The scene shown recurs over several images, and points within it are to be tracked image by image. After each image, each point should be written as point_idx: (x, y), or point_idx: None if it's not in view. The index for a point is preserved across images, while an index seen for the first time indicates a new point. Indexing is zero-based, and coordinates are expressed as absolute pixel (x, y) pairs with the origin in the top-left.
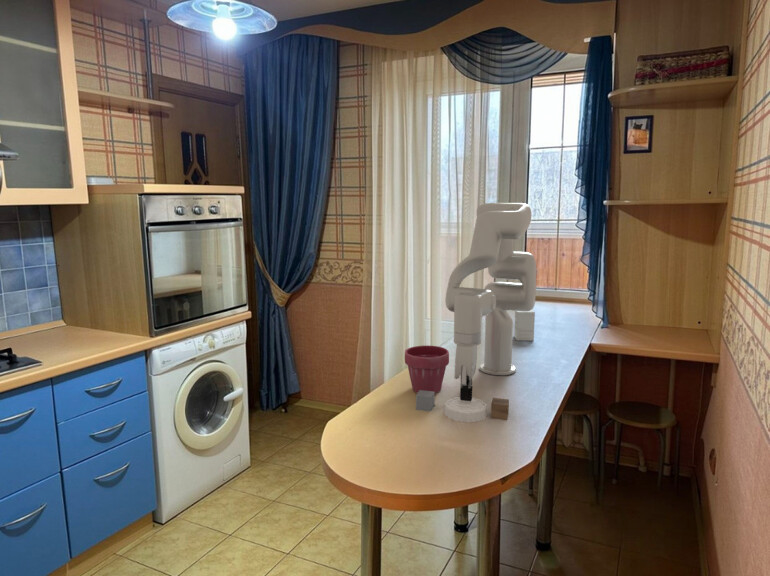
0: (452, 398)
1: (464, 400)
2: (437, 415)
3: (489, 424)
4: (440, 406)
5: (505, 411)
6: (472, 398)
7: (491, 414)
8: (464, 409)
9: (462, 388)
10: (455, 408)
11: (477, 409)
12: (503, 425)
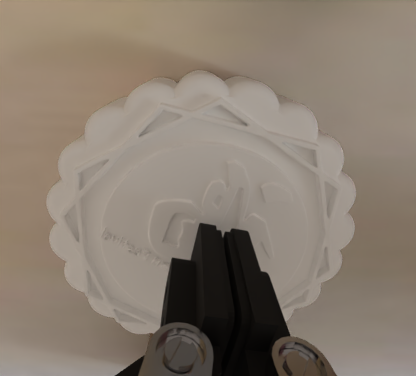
0: (313, 149)
1: (192, 251)
2: (151, 10)
3: (76, 307)
4: (328, 41)
5: None
6: (304, 284)
7: (151, 334)
8: (79, 231)
9: (199, 320)
10: (75, 168)
11: (109, 304)
12: (80, 354)
